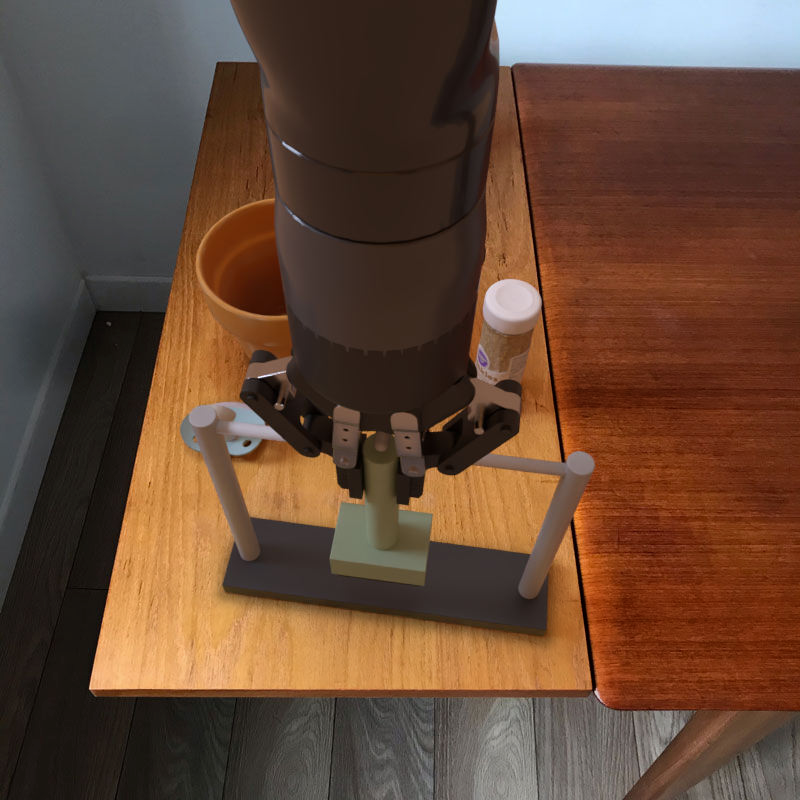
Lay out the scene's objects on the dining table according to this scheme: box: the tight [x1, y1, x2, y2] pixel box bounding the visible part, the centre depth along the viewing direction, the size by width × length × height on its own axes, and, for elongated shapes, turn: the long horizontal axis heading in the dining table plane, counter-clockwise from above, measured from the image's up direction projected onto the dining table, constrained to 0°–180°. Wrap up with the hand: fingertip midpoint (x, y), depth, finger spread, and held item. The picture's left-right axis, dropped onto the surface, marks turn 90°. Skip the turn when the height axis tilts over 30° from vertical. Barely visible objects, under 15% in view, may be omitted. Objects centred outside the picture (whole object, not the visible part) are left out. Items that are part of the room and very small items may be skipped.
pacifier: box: [179, 401, 267, 457], centre depth 67 cm, size 7×6×6 cm
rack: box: [189, 404, 596, 637], centre depth 53 cm, size 25×6×21 cm, turn 82°
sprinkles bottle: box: [474, 278, 543, 386], centre depth 66 cm, size 5×5×14 cm
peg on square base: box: [330, 431, 434, 587], centre depth 46 cm, size 6×7×15 cm
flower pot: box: [195, 197, 292, 361], centre depth 69 cm, size 14×14×13 cm
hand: (382, 486), depth 43 cm, fingers closed on peg on square base
